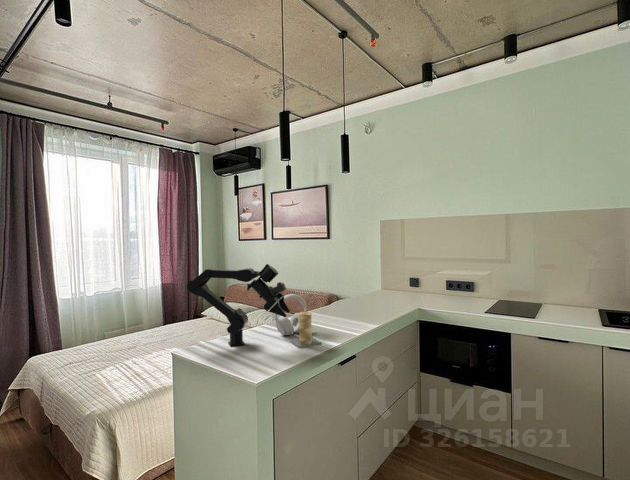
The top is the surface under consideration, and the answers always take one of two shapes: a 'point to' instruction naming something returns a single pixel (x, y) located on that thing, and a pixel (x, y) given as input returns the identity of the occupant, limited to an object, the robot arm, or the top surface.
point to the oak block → (305, 328)
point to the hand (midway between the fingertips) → (287, 314)
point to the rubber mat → (297, 344)
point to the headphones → (291, 325)
